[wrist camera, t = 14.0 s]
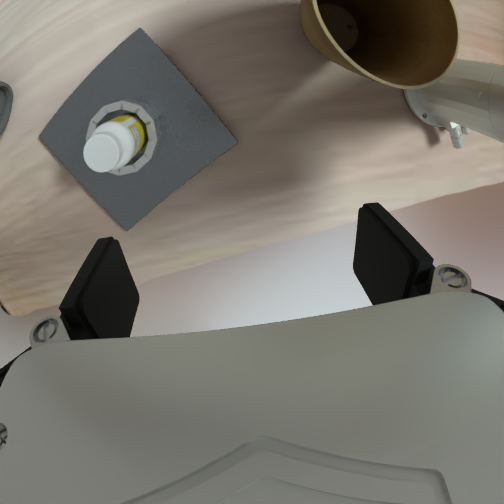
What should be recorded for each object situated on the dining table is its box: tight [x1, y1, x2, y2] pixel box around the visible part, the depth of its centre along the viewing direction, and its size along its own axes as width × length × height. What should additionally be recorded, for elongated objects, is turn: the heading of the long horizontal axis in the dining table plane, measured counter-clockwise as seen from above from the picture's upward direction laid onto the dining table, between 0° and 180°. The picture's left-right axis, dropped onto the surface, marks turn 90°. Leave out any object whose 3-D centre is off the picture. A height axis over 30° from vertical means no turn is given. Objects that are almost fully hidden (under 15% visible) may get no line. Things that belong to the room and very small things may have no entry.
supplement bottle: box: [83, 114, 148, 172], centre depth 28 cm, size 5×5×10 cm
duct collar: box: [39, 28, 238, 231], centre depth 31 cm, size 20×20×4 cm
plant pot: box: [300, 0, 460, 90], centre depth 21 cm, size 15×15×16 cm
